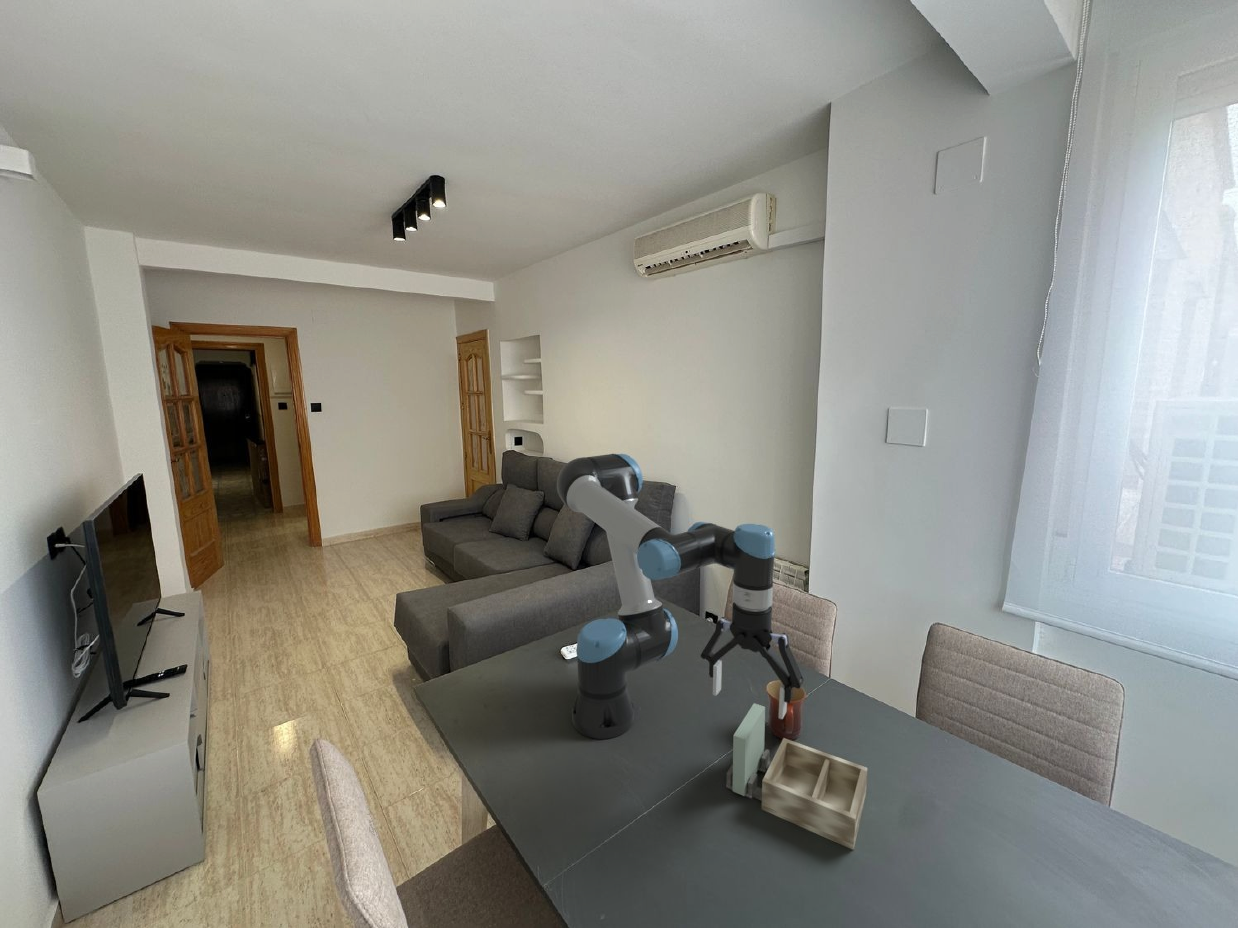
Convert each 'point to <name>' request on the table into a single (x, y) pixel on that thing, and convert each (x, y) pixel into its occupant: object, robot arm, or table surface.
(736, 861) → the table surface
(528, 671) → the table surface
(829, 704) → the table surface
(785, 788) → the wooden divided box
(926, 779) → the table surface
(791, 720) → the mug
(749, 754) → the block
